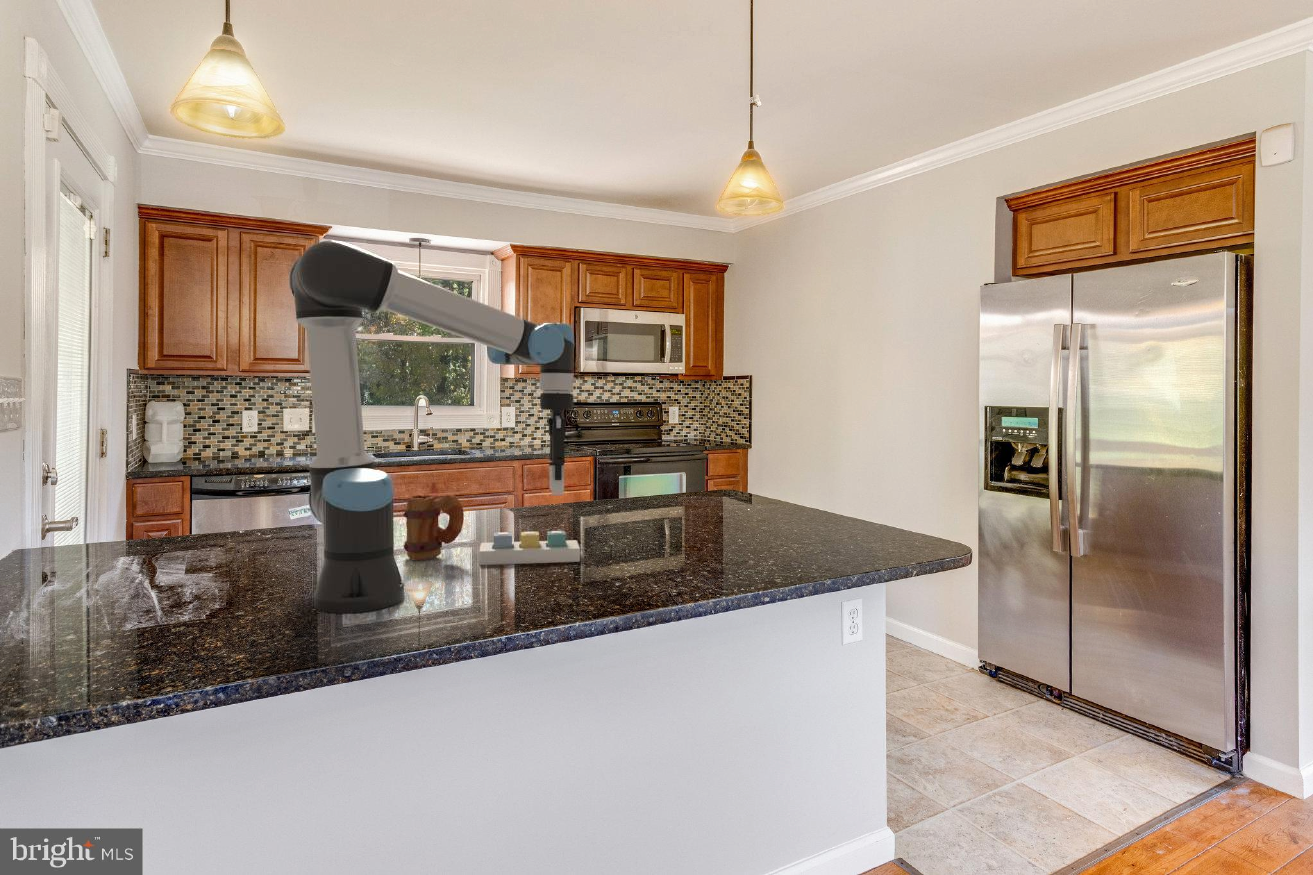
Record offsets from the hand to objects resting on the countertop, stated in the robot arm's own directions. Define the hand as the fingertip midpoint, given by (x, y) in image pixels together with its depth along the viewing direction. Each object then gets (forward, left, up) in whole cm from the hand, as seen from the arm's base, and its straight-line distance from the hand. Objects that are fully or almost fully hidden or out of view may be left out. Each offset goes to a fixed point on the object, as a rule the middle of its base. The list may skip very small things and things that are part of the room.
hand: (556, 491), depth 165 cm
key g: (0, 0, -13) cm, 13 cm away
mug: (-16, +23, -16) cm, 32 cm away
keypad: (-4, +5, -15) cm, 16 cm away
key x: (-4, +5, -13) cm, 14 cm away
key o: (-8, +9, -13) cm, 17 cm away
